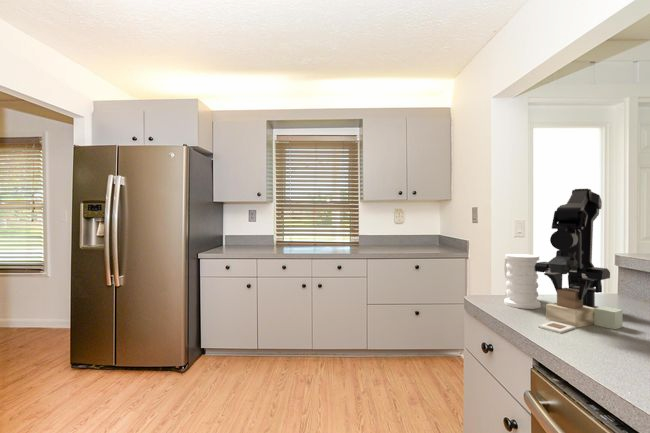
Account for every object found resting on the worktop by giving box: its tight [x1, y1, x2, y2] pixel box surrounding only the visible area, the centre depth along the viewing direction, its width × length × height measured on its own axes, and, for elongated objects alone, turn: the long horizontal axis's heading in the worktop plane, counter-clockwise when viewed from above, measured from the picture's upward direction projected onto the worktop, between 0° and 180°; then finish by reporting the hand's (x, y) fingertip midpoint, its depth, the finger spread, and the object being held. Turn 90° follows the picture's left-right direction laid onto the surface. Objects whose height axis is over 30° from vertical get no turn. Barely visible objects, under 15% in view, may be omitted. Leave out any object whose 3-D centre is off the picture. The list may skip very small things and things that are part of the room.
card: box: [538, 321, 576, 334], centre depth 103 cm, size 8×6×1 cm
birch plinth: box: [545, 302, 595, 329], centre depth 109 cm, size 9×9×5 cm
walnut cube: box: [556, 287, 583, 309], centre depth 109 cm, size 5×5×5 cm
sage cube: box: [594, 305, 623, 330], centre depth 104 cm, size 5×5×5 cm
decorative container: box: [504, 253, 542, 310], centre depth 129 cm, size 12×12×18 cm
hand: (570, 298), depth 109 cm, fingers open, 6 cm apart
